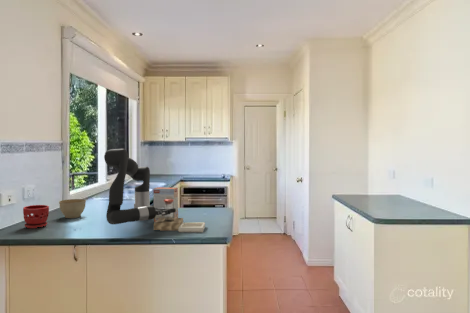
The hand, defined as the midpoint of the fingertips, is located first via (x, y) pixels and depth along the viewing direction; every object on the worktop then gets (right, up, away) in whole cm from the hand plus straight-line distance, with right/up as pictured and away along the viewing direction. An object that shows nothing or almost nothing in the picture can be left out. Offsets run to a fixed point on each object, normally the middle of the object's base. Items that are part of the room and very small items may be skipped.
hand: (172, 209), depth 203 cm
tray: (+12, -10, -7) cm, 17 cm away
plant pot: (-80, -11, +3) cm, 81 cm away
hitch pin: (-2, -10, -1) cm, 10 cm away
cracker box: (-7, -10, +15) cm, 19 cm away
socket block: (-2, -10, -1) cm, 10 cm away
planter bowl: (-71, -10, +31) cm, 78 cm away
